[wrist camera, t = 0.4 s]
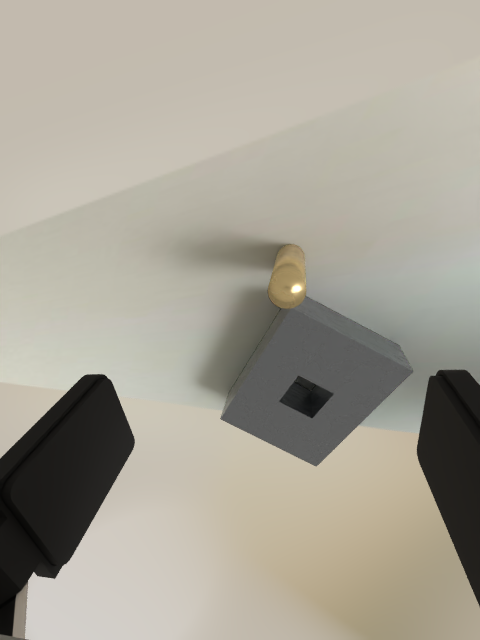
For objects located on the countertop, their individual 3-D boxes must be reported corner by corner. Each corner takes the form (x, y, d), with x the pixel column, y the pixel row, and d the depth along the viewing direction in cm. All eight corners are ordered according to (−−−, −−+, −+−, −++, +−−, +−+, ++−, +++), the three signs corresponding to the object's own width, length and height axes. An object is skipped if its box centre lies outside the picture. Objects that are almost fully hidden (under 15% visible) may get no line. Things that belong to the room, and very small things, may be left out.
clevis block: (399, 345, 35) (413, 371, 30) (314, 436, 43) (316, 466, 39) (292, 289, 34) (291, 307, 30) (228, 393, 43) (220, 419, 38)
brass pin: (310, 252, 32) (313, 284, 23) (295, 276, 33) (293, 314, 24) (285, 239, 32) (279, 266, 23) (271, 263, 33) (261, 298, 24)
